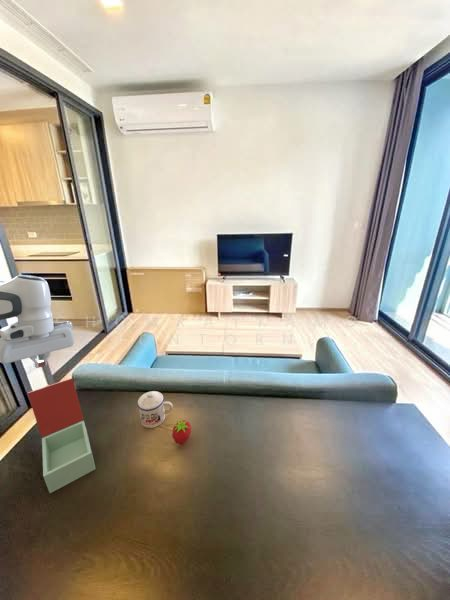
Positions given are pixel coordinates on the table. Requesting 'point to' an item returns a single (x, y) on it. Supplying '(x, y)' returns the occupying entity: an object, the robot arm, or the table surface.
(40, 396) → the lid
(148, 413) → the teacup with lid
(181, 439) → the strawberry
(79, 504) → the table surface
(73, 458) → the box
